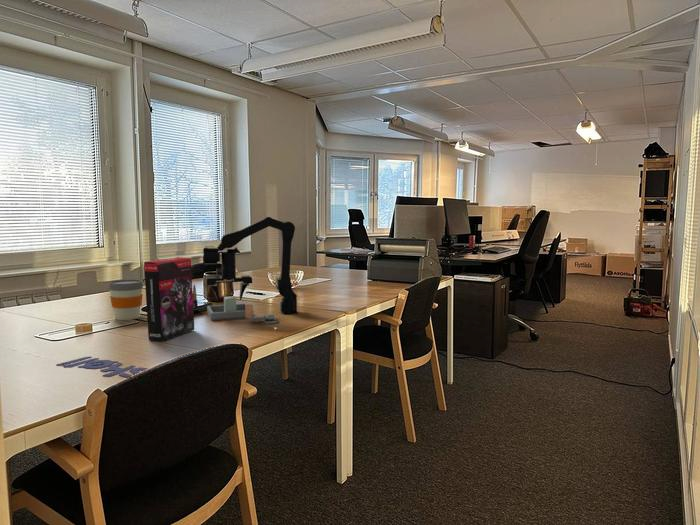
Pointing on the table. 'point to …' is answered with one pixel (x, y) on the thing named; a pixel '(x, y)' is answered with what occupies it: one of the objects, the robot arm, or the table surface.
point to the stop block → (229, 304)
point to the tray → (219, 314)
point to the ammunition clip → (194, 297)
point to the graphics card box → (169, 297)
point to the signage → (103, 366)
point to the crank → (250, 315)
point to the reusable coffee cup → (126, 298)
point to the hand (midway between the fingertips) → (229, 300)
